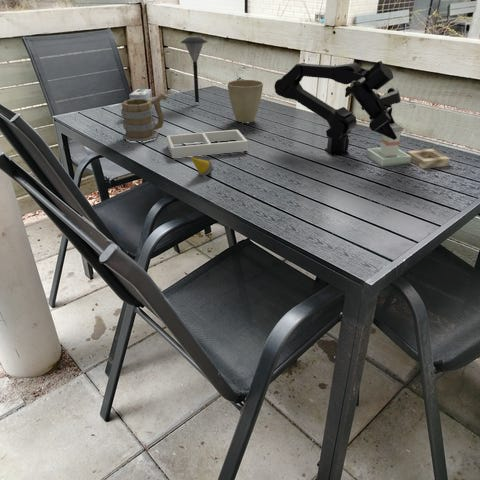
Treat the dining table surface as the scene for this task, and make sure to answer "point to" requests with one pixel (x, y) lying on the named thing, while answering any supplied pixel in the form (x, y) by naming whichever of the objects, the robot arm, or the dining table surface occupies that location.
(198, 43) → the solar garden light
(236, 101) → the plant pot
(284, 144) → the dining table surface
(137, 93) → the light bulb box
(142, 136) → the tankard
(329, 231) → the dining table surface
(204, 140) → the parts bin
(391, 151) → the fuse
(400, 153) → the tray
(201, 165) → the yellow tapered piece
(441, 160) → the collar block
